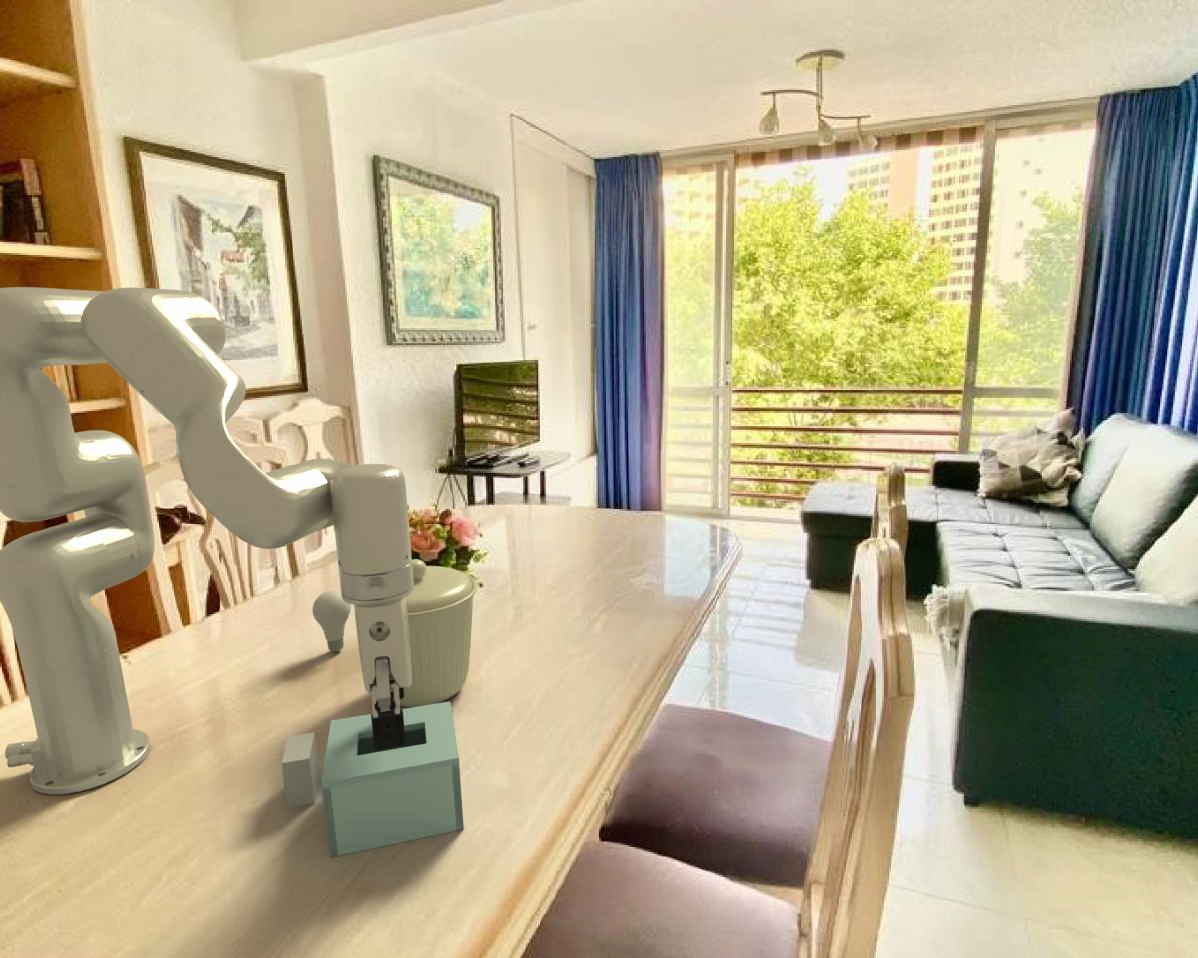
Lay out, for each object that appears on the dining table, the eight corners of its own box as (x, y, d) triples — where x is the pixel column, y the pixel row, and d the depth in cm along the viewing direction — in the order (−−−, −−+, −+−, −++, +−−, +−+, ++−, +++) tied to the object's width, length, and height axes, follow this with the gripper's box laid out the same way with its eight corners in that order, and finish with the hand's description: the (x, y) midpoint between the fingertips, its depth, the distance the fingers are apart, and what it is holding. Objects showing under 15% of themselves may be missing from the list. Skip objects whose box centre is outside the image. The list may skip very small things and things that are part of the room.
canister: (359, 732, 96) (344, 589, 91) (364, 671, 112) (352, 548, 108) (490, 710, 100) (482, 573, 96) (476, 654, 117) (468, 536, 113)
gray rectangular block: (314, 803, 81) (309, 758, 80) (287, 808, 81) (281, 763, 79) (319, 774, 87) (314, 732, 85) (293, 779, 86) (288, 736, 84)
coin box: (330, 857, 73) (321, 782, 71) (338, 786, 84) (330, 720, 82) (463, 828, 77) (458, 757, 75) (454, 764, 88) (450, 701, 86)
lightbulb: (342, 660, 116) (336, 599, 114) (310, 658, 117) (302, 597, 115) (361, 644, 122) (355, 586, 119) (330, 642, 123) (324, 584, 121)
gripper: (415, 605, 67) (428, 760, 71) (411, 551, 83) (421, 679, 87) (333, 615, 65) (351, 774, 69) (345, 557, 81) (359, 689, 85)
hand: (390, 721), depth 78 cm, fingers open, 9 cm apart
